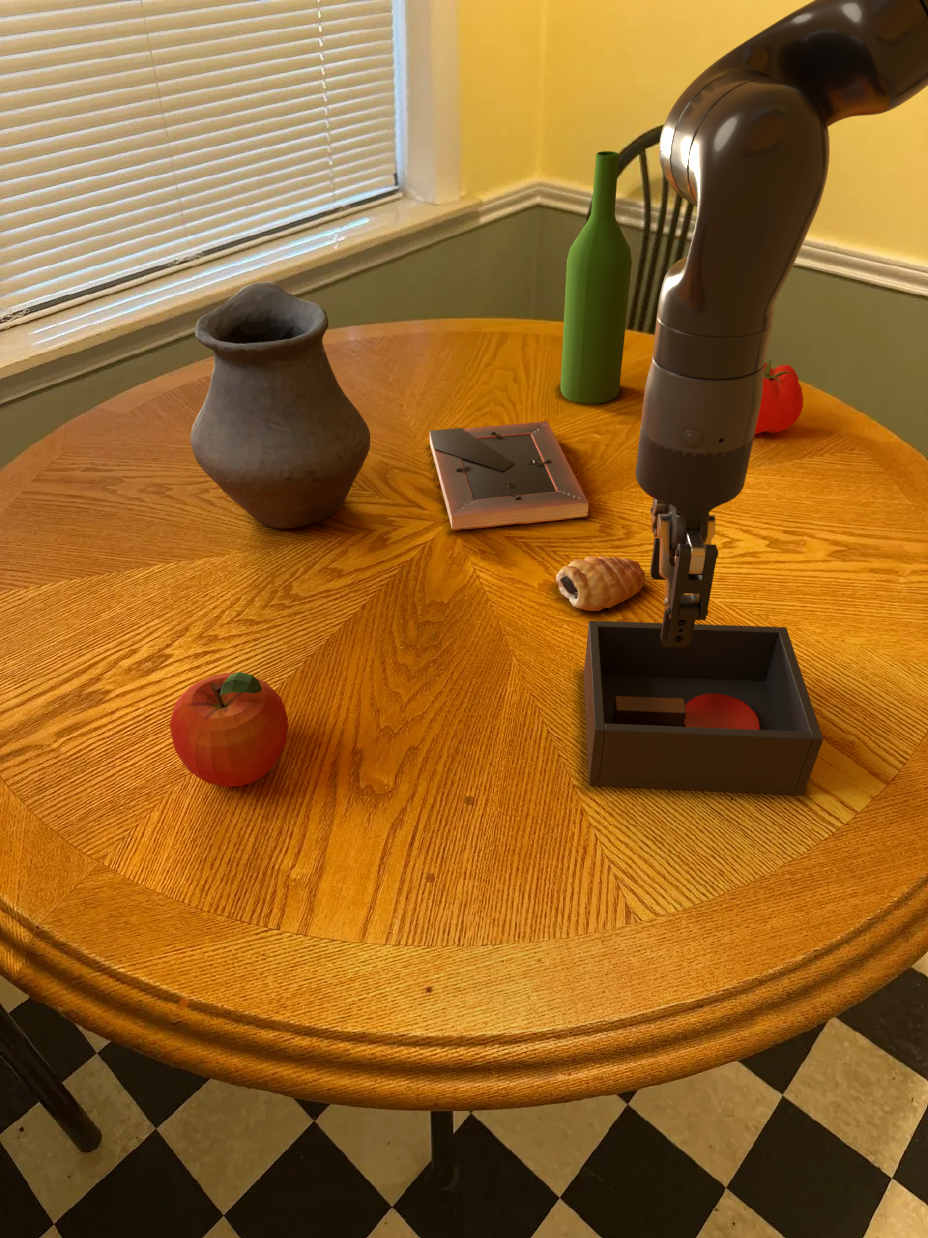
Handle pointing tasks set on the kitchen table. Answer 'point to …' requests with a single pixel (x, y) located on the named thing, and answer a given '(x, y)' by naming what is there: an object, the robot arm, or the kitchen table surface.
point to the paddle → (685, 712)
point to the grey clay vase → (276, 410)
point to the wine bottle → (596, 296)
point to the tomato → (779, 399)
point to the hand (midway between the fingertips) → (668, 609)
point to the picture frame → (505, 476)
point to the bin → (712, 664)
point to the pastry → (600, 581)
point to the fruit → (229, 728)
